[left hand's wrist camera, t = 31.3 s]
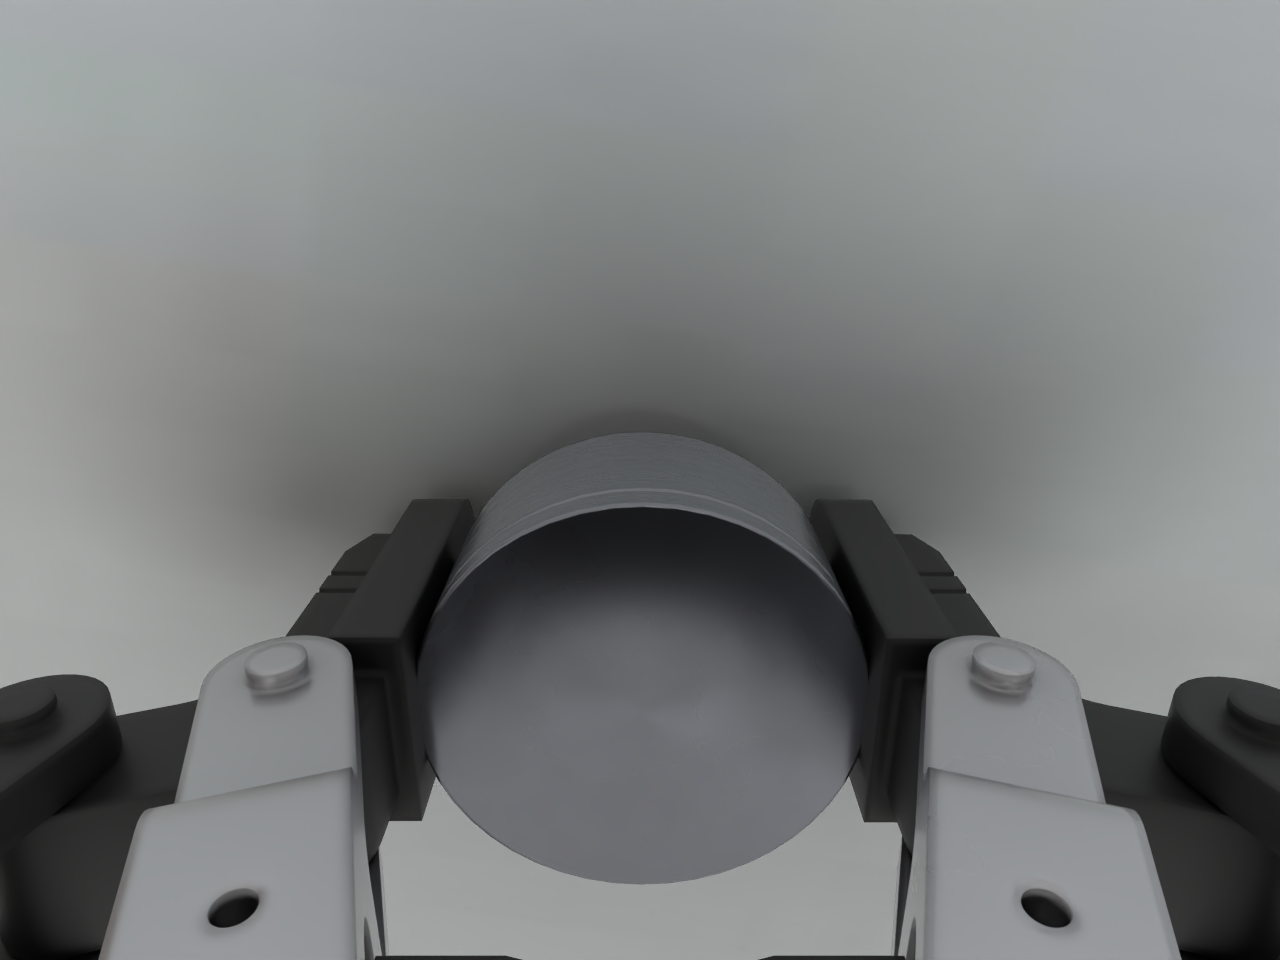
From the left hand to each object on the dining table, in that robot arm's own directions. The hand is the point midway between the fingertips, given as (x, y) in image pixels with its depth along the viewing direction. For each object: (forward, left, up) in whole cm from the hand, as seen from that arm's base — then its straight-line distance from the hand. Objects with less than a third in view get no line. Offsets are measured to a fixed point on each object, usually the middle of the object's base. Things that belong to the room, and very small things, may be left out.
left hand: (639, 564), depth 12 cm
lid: (0, 0, +3) cm, 3 cm away
